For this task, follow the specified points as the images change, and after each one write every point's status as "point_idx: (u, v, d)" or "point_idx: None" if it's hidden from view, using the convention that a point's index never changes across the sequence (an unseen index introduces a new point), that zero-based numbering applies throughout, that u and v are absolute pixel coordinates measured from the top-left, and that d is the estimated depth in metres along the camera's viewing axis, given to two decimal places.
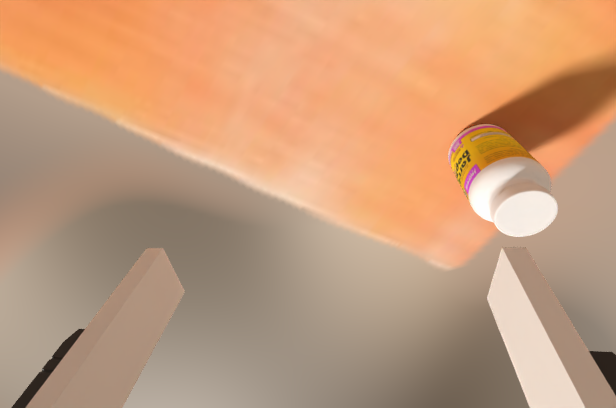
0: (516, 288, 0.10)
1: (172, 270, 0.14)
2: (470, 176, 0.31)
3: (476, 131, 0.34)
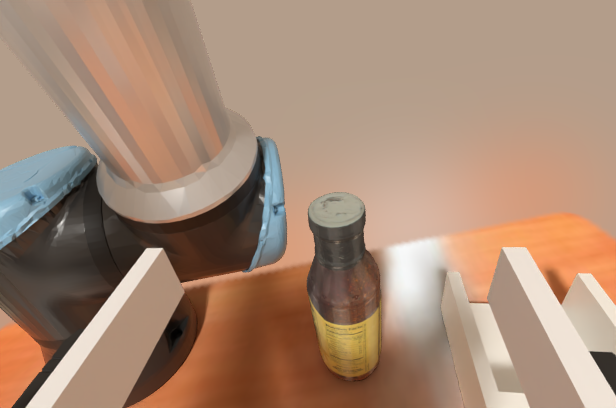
0: (516, 288, 0.10)
1: (172, 270, 0.14)
2: None
3: None
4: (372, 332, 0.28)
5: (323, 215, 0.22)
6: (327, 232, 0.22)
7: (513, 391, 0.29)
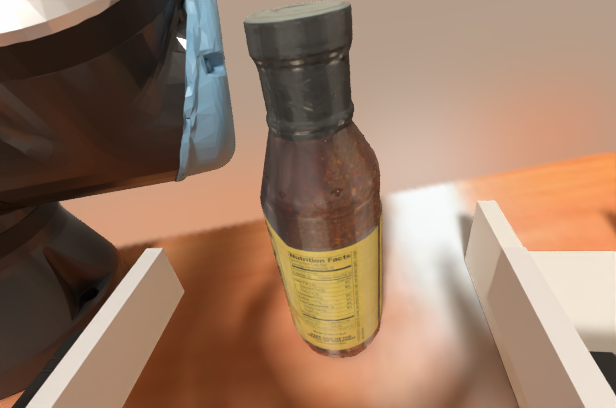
0: (516, 288, 0.10)
1: (172, 270, 0.14)
2: None
3: None
4: (367, 271, 0.17)
5: (270, 14, 0.12)
6: (275, 37, 0.11)
7: None
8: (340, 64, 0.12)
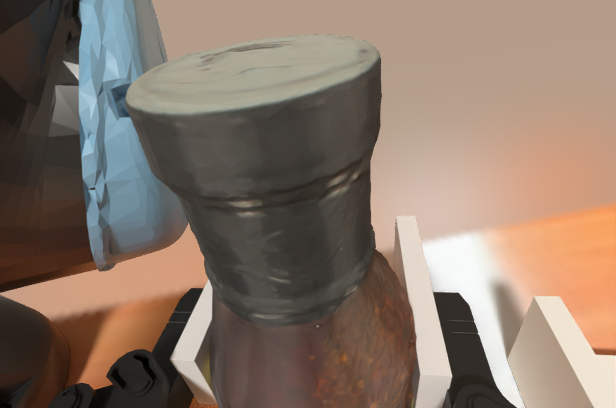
0: (399, 247, 0.12)
1: None
2: None
3: None
4: None
5: (183, 79, 0.05)
6: (183, 149, 0.04)
7: None
8: (352, 188, 0.05)
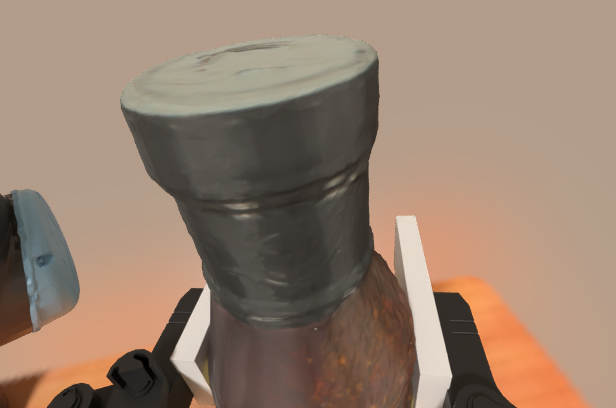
0: (399, 248, 0.12)
1: None
2: None
3: None
4: None
5: (178, 80, 0.05)
6: (178, 151, 0.04)
7: None
8: (350, 190, 0.05)
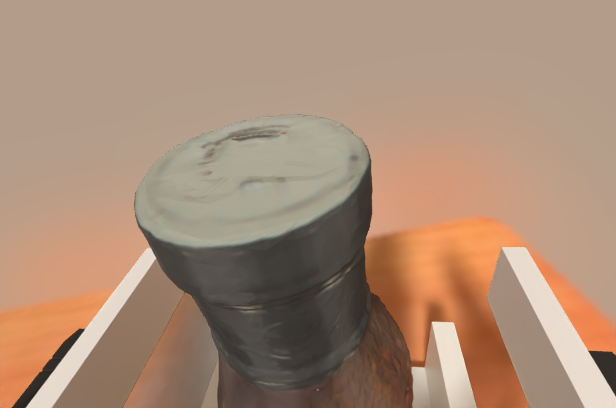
0: (515, 288, 0.10)
1: None
2: None
3: None
4: None
5: (187, 190, 0.05)
6: (189, 269, 0.04)
7: None
8: (347, 276, 0.06)
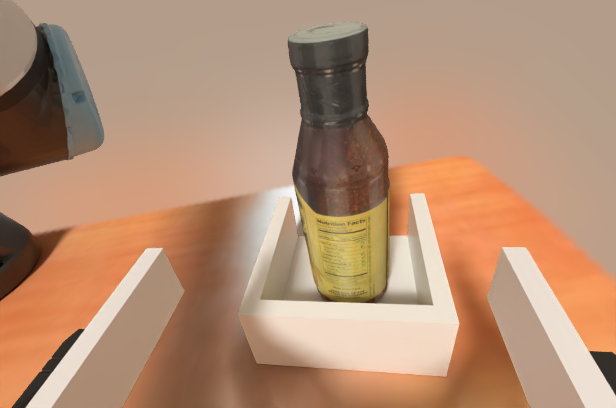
0: (516, 288, 0.10)
1: (172, 270, 0.14)
2: None
3: None
4: (378, 234, 0.21)
5: (308, 35, 0.16)
6: (314, 53, 0.15)
7: None
8: (359, 71, 0.16)
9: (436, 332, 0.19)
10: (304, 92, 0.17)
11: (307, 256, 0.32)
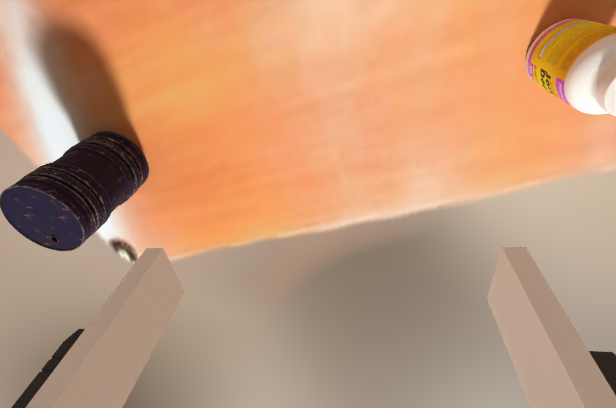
0: (516, 288, 0.10)
1: (172, 270, 0.14)
2: (560, 90, 0.30)
3: (539, 45, 0.33)
4: None
5: None
6: None
7: None
8: None
9: None
10: None
11: None
